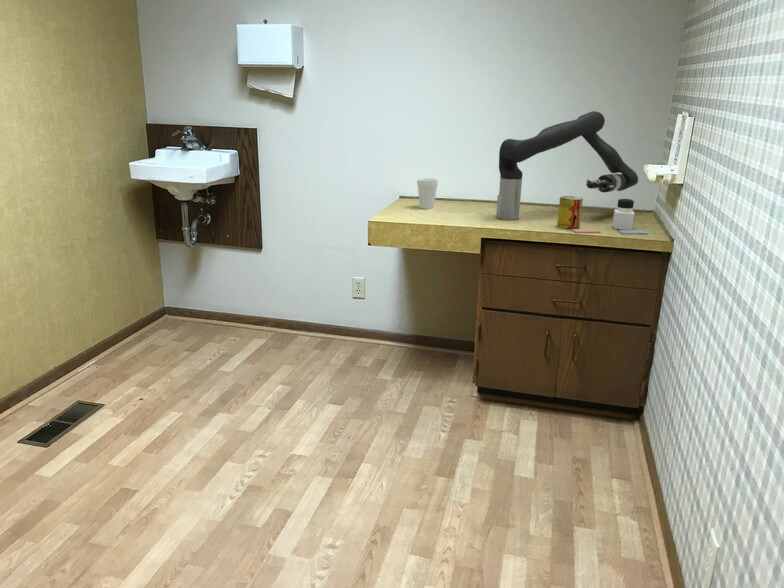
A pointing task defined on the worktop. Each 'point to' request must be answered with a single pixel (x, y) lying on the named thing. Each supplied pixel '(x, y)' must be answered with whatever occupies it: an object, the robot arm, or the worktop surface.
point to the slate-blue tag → (632, 232)
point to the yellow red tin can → (569, 212)
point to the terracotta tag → (585, 230)
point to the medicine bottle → (624, 215)
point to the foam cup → (427, 192)
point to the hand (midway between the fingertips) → (589, 185)
